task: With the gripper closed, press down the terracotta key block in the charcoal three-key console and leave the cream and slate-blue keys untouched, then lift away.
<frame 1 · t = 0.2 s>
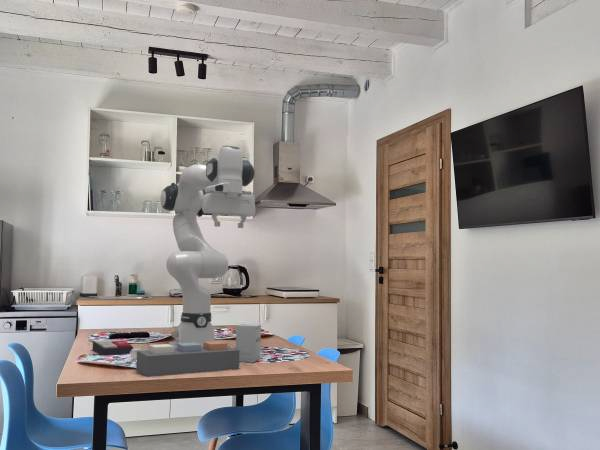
hand: (229, 227, 205), 47 cm above the table, fingers open, 8 cm apart
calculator: (112, 353, 214), on the table
white curved piece: (135, 363, 194), on the table
key console: (188, 369, 181), on the table
cream key: (161, 352, 177), point 6 cm above the table, slide at 0.0 cm
terracotta key: (215, 349, 186), point 6 cm above the table, slide at 0.0 cm
supplement box: (247, 361, 200), on the table
slate key: (188, 350, 181), point 6 cm above the table, slide at 0.0 cm
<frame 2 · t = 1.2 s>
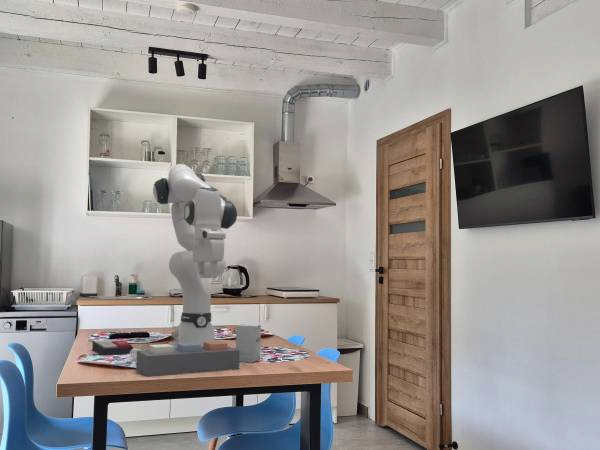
hand: (206, 275, 190), 30 cm above the table, fingers open, 8 cm apart
nothing on the table moved.
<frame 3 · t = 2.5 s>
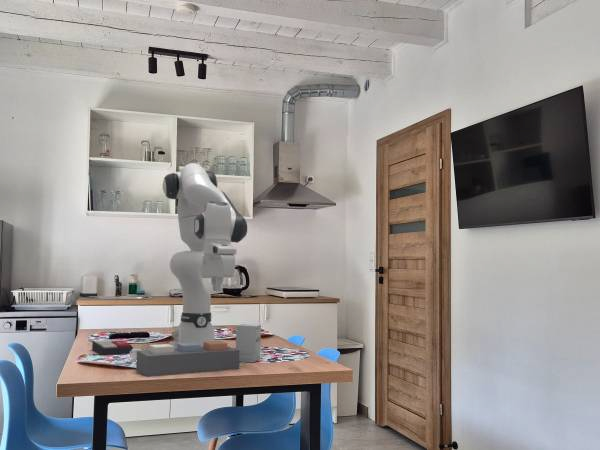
hand: (216, 291, 187), 25 cm above the table, fingers closed
nothing on the table moved.
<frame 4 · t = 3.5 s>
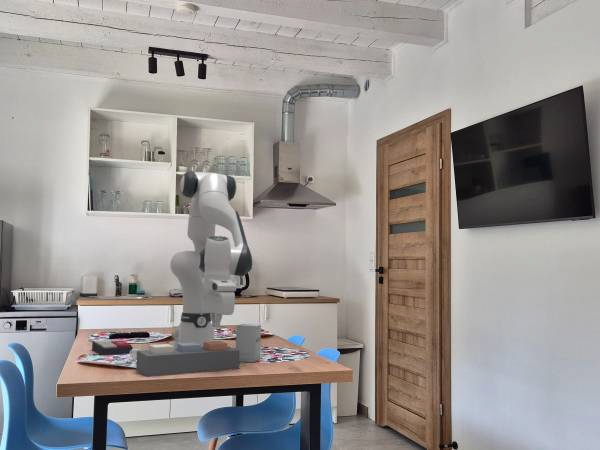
hand: (215, 326, 186), 13 cm above the table, fingers closed
nothing on the table moved.
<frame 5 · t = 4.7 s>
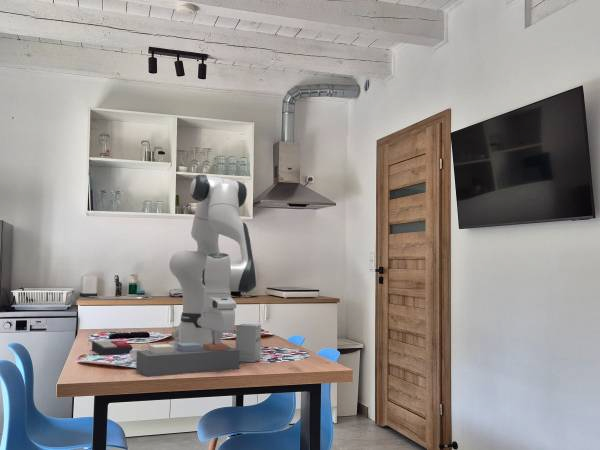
hand: (216, 344, 186), 7 cm above the table, fingers closed, pressing on terracotta key
terracotta key: (215, 351, 186), point 5 cm above the table, slide at 0.6 cm, touching gripper
everything else where it was.
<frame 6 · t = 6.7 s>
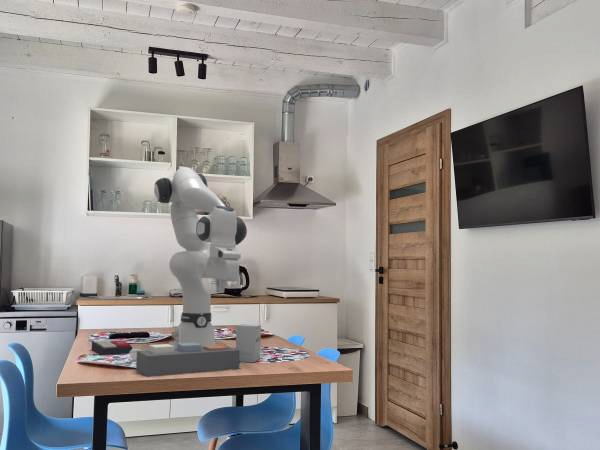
hand: (220, 292, 196), 24 cm above the table, fingers closed
terracotta key: (214, 353, 186), point 5 cm above the table, slide at 1.3 cm
everything else where it was.
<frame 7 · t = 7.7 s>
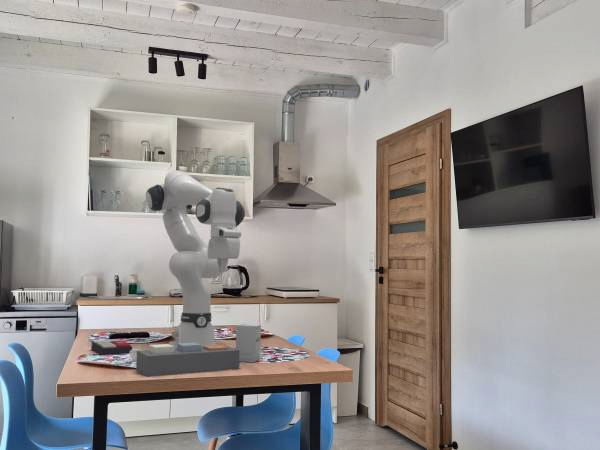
hand: (222, 271, 199), 31 cm above the table, fingers closed
nothing on the table moved.
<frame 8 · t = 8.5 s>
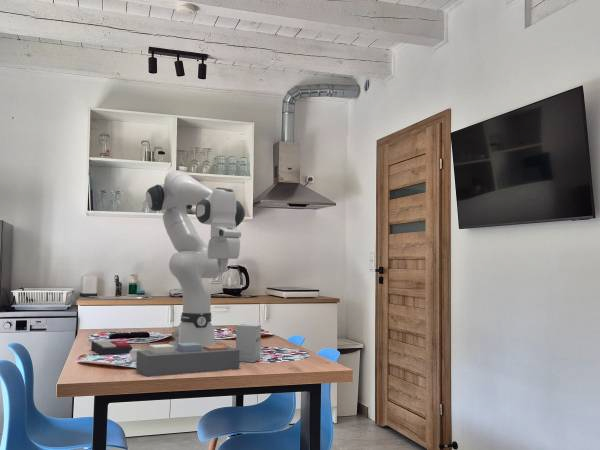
hand: (222, 271, 199), 31 cm above the table, fingers closed
nothing on the table moved.
at the end: terracotta key slide at 1.3 cm; slate key slide at 0.0 cm; cream key slide at 0.0 cm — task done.
